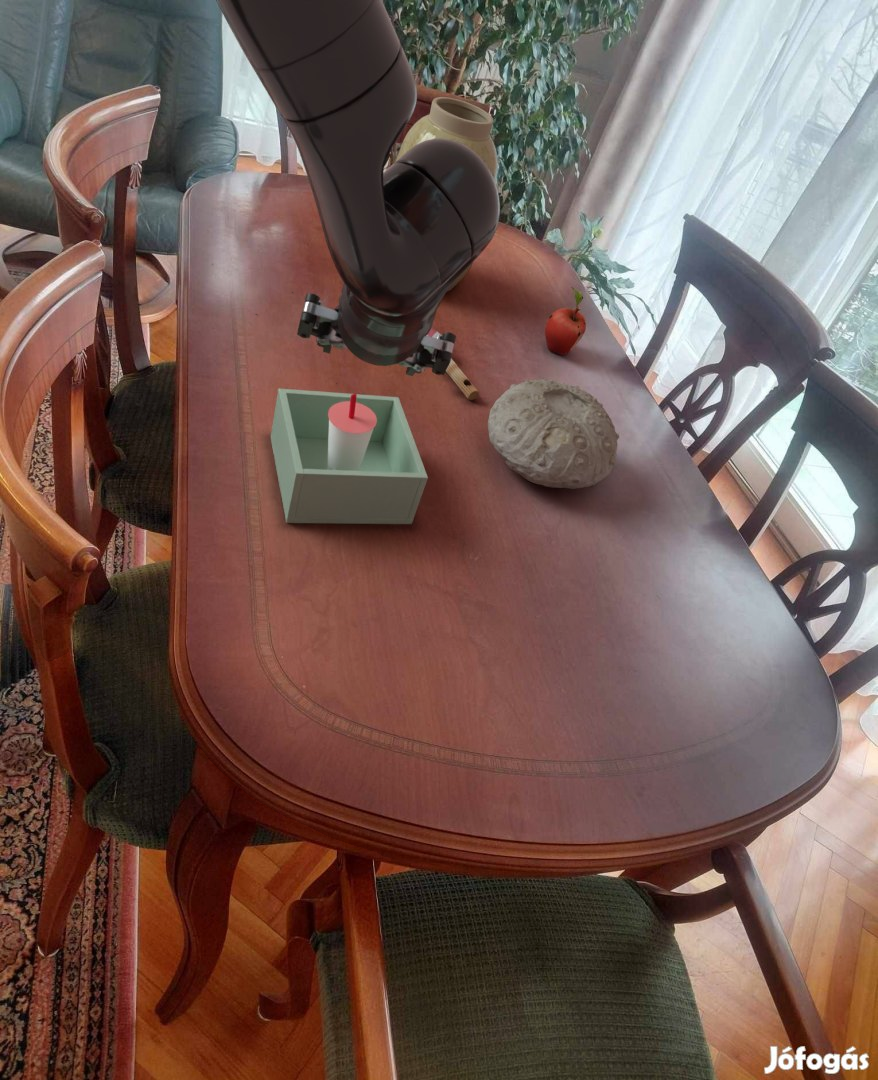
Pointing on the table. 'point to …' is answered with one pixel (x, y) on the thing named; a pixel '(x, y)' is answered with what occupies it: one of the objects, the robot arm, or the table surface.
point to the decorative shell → (553, 434)
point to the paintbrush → (458, 375)
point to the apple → (565, 328)
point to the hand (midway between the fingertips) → (370, 354)
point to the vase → (456, 133)
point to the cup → (349, 434)
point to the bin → (344, 495)
